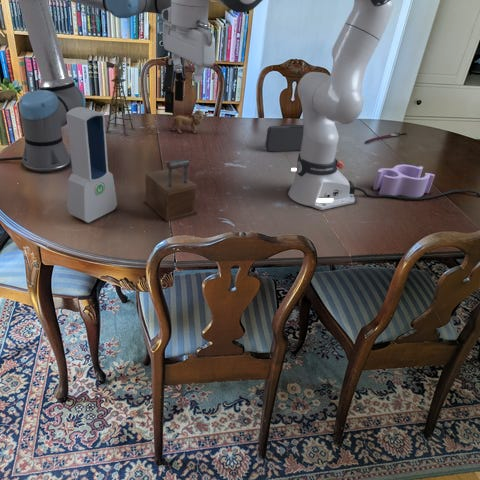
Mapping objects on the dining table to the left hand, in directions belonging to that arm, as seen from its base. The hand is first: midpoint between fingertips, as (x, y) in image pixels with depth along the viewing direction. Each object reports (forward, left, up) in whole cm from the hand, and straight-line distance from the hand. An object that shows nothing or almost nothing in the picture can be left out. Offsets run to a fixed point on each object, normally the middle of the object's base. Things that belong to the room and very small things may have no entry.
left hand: (174, 106), depth 154 cm
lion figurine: (-4, +38, -22) cm, 44 cm away
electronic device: (-15, -37, -22) cm, 46 cm away
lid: (+6, -28, -14) cm, 32 cm away
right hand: (+10, -30, +17) cm, 36 cm away
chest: (+6, -28, -22) cm, 36 cm away
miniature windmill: (-30, +29, -22) cm, 47 cm away
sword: (+84, +63, -22) cm, 108 cm away
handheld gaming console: (+41, +33, -22) cm, 57 cm away
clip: (+81, +8, -22) cm, 85 cm away
